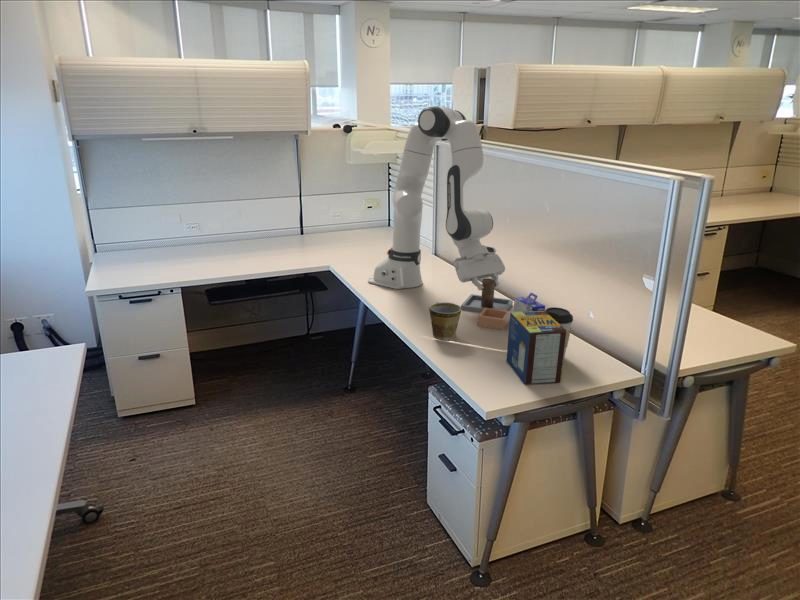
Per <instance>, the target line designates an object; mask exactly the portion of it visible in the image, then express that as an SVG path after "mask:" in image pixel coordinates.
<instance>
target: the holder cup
mask: <svg viewBox="0 0 800 600" xmlns="http://www.w3.org/2000/svg"><path fill="white" fill-rule="evenodd" d="M510 312H511V311H510V310H508V311H505V310H498V309H492V308H484V309H483V310H482V312H481V313H480V312H479V315H477V326H478V327H484V328H492V329H497V330H503V331H505V329H506V327H507V326H508V324H509V323H510Z"/></svg>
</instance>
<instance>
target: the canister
mask: <svg viewBox="0 0 800 600" xmlns="http://www.w3.org/2000/svg"><path fill="white" fill-rule="evenodd" d="M481 284H483V286H484V289H483V290H481V296H482V298H481V307H483V308H493V301H494V297H495V288H496V287H495V280H494V279H492V278H483V279H482V283H481Z"/></svg>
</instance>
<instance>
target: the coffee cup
mask: <svg viewBox="0 0 800 600" xmlns="http://www.w3.org/2000/svg"><path fill="white" fill-rule="evenodd" d="M545 312H546V313H547V314H549V315H550V316H551V317H552V318H553V319H554V320H555V321H557V322H558V323H559V324H560V325H561V326H562V327H563V328H565V329H566V330H567V332H566V340H565V348H564V356H563V361H564V360H565V357H566V356H565V355H566V351H567V347H568V345H569V341H570V335H571V330H572V323H573V322H574V316H573V314H572V313H570V311H569V310H568V309H565V308H561V307H556V306H555V307H547V308H545Z"/></svg>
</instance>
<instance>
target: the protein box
mask: <svg viewBox="0 0 800 600" xmlns="http://www.w3.org/2000/svg"><path fill="white" fill-rule="evenodd" d="M508 324H509V325H508V326H509V327H508V336H507V338H508V339H507V347H506V348H507V349H506V359H505V361H506V362H507V363H508V365H509V366H510V367H511V369H512V370H513V371H514V373H515V374H516V376H517V377H518V378H519V379H520V381H521V382H522V383H523V385H527V386H528V385H541V384H555V383H556V384H557V383H559V384H560V383H561V382H562V381H561V380H562V371H563V370H562V369H563V363H564V360H563V356H564V348H565V340H566V332H567V330H566V329H565V328H563V327H562V326H561V325H560V324H559V323H558V322H557V321H555V320H554V319H553V318H552V317H551V316H550V315H549V314H547V313H546V312H545V311H544V310H543V311H520V312H513V311H510V321H509V323H508Z"/></svg>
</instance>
